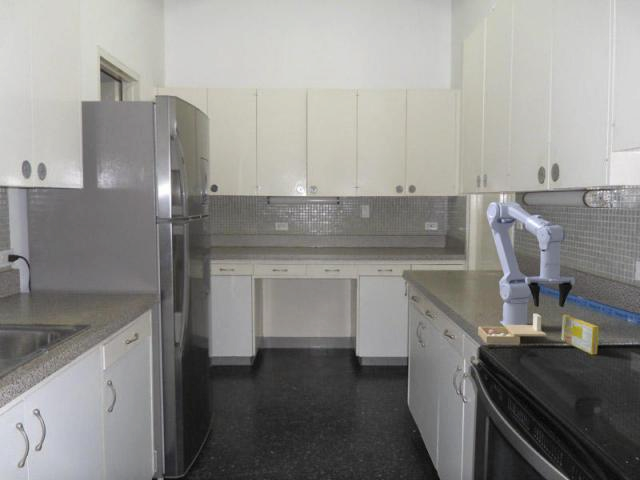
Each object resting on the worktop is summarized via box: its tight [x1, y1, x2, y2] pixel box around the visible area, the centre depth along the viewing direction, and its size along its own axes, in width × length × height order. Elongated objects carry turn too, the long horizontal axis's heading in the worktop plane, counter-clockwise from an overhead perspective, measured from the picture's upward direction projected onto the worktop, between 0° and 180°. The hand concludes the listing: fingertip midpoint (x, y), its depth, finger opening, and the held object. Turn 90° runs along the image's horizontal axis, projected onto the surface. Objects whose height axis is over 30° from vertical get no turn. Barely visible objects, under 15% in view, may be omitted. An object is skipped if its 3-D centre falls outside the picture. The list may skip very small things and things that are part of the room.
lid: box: [503, 313, 547, 337], centre depth 173 cm, size 12×10×5 cm
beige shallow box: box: [477, 326, 521, 346], centre depth 173 cm, size 12×10×3 cm
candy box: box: [561, 314, 600, 356], centre depth 165 cm, size 16×2×8 cm, turn 6°
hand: (548, 306), depth 174 cm, fingers open, 7 cm apart
